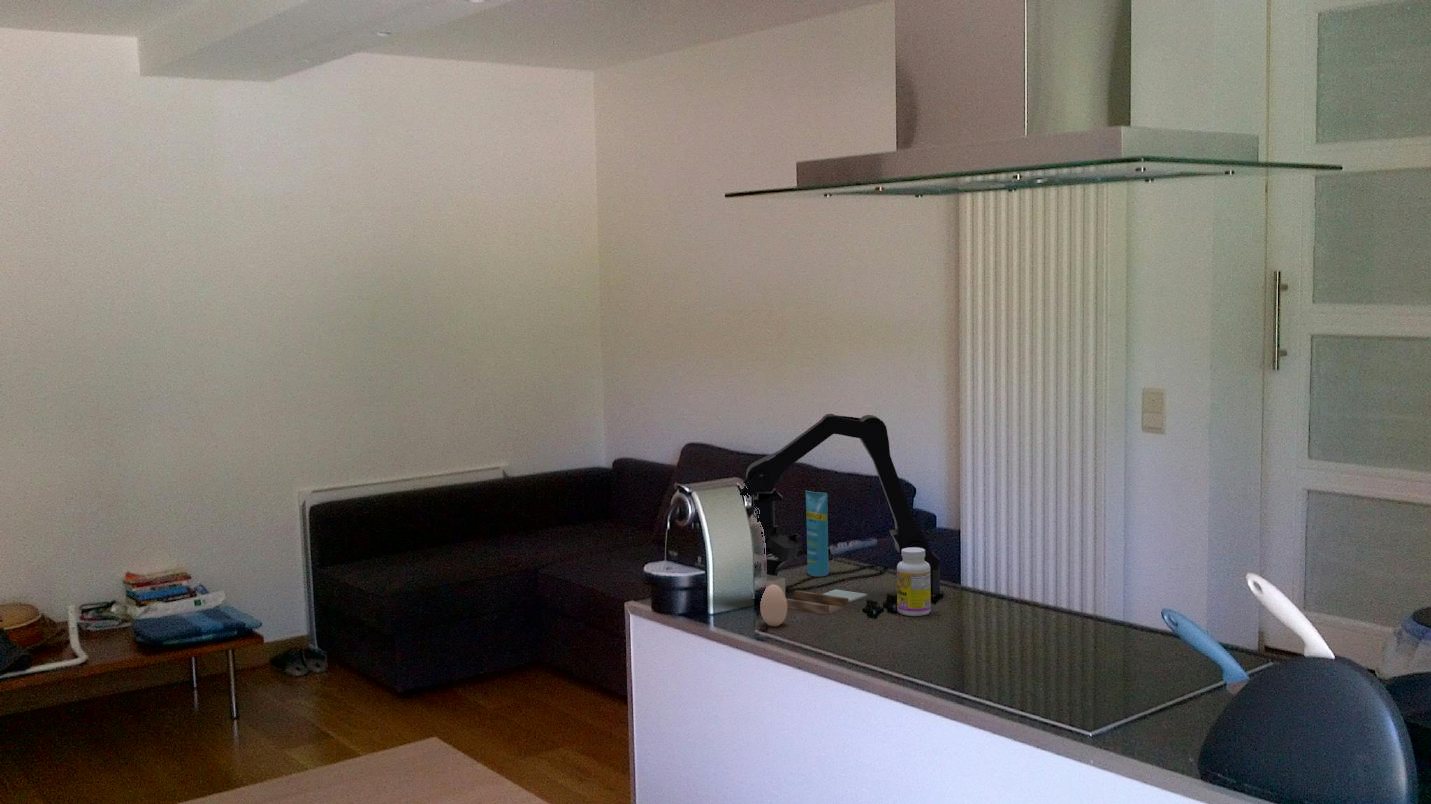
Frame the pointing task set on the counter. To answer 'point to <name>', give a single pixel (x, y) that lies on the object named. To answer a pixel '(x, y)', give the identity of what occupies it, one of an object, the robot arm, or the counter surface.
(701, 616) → the counter surface
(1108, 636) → the counter surface
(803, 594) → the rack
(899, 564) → the supplement bottle
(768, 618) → the egg
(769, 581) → the block
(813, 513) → the tube
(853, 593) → the pad
